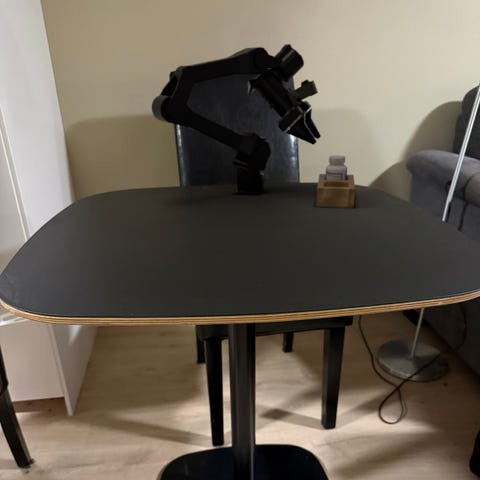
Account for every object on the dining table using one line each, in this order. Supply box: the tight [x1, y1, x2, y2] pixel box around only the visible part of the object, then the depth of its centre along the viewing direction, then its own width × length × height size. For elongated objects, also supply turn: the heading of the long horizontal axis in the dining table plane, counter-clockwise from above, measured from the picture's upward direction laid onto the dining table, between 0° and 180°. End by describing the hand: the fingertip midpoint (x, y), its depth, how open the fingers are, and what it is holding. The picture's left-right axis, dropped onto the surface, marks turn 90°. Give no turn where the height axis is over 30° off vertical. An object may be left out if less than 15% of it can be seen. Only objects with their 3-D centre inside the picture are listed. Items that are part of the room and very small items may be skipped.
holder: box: [315, 173, 356, 209], centre depth 122 cm, size 9×16×4 cm, turn 170°
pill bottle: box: [325, 154, 348, 181], centre depth 124 cm, size 6×5×10 cm
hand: (317, 140), depth 124 cm, fingers open, 9 cm apart
